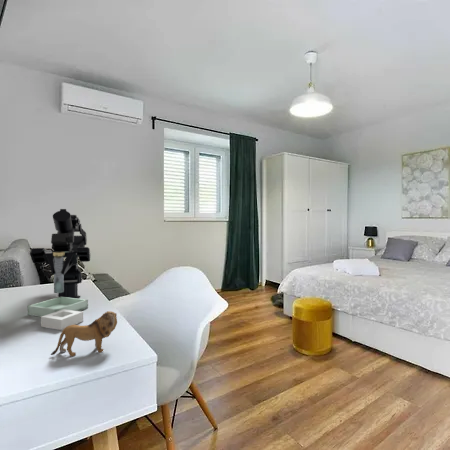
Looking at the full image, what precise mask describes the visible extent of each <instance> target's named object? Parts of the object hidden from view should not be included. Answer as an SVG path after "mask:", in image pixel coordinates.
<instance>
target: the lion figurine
mask: <svg viewBox="0 0 450 450" xmlns="http://www.w3.org/2000/svg"><path fill="white" fill-rule="evenodd" d="M117 317H118V316H117V313H116V312H114V311H111V310H109V311H106V312H104V313H102V315H101V316H100V317H98V318H97V319H95V320H93V321H92V322H91V323H89V324H88V325H87V324H86V325H79V324H75V325H70V326H67V327H66V328H65V329H63V330H61V333H60V334H59V338H58V343H57V346H56V348H55V350H53V351H52V352H51V354H50V355H51V356H54V355H55V354H57V352H60V353H65V352H67V353H68V355H69V356H70V357H75V356H76V355H77V353H76V352H73V350H72V347H73V345H74V343H75V339H78V340H80V341H84V342H89V341H93V340H94V347H95V349H96V350H97V352H98V353H103V352H104V351H103V350H104V348H102V343H103V339H105V338H109V336H111V334H112V332H113V331H115V329H116V327H117V324H118V318H117ZM63 337H64V339H63ZM66 344H67V346H66ZM65 346H66V348H64V347H65ZM102 351H103V352H102Z"/></svg>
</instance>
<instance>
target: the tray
mask: <svg viewBox="0 0 450 450" xmlns="http://www.w3.org/2000/svg"><path fill="white" fill-rule="evenodd" d="M88 308H89V299H84V298H69V297H58V296H57V297H54V298H51V299H47V300H44V301H41V302H40V301H39V302H37V303H32V304H29V305H27V316H33V317H40V318H41V317H42V316H45V315H48V314H51V313H54V312H57V311H60V310H63V309H66V310H73V311H80V312H82V311H83V310H86V309H88Z"/></svg>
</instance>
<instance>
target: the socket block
mask: <svg viewBox="0 0 450 450" xmlns="http://www.w3.org/2000/svg"><path fill="white" fill-rule="evenodd" d="M83 322H84V311H73V310H66V309H63V310H60V311H57V312H54V313H51V314H48V315H45V316H42V317H40V327H41V328H47V329H53V330H56V331H57V330H58V331H59V330H60V331H63V330H64V329H65V328H66V327H67V326H70V325H79V324H81V323H83Z"/></svg>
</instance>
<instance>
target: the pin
mask: <svg viewBox="0 0 450 450" xmlns="http://www.w3.org/2000/svg"><path fill="white" fill-rule="evenodd" d="M64 255H65V252H53V256H54V275H53V294H58V293H62V292H64V275H63V268H64V261H65V258H64Z"/></svg>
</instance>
